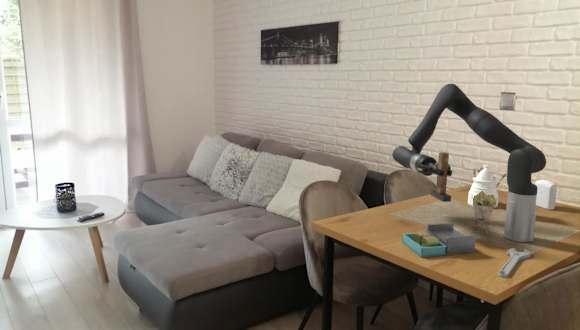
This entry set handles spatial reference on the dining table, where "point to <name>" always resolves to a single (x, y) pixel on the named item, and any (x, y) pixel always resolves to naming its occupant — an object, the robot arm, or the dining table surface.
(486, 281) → the dining table surface
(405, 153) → the robot arm
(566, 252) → the dining table surface
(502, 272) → the adjustable wrench
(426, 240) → the brass block
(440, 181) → the wooden post on base
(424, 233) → the brass block
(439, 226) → the rail channel
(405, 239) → the tray
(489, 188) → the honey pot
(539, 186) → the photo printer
